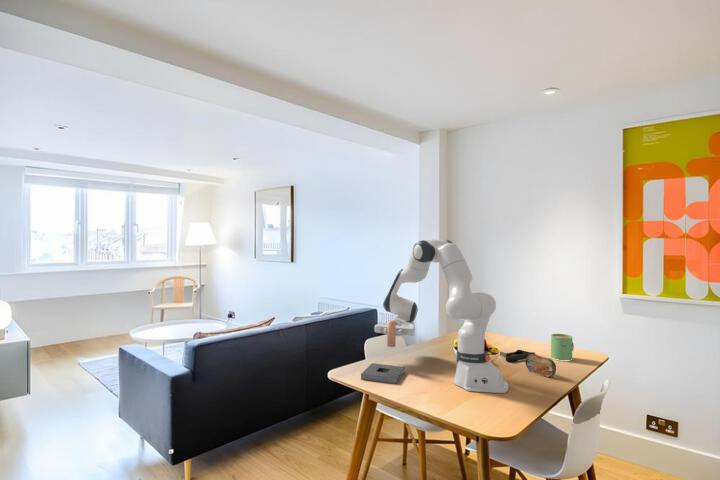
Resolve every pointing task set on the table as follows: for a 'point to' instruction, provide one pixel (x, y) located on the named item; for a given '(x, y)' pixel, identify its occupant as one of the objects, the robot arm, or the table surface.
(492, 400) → the table surface
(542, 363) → the tin
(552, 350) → the mug
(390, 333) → the pin
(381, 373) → the socket plate
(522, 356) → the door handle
